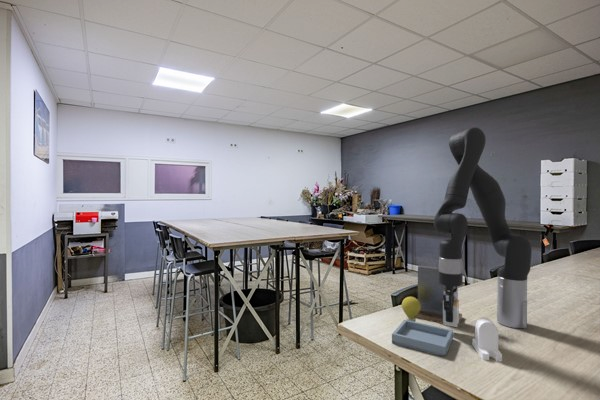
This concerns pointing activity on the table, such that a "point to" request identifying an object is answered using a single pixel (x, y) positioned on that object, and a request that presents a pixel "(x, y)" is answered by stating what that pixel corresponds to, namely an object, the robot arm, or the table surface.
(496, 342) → the cable organizer
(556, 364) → the table surface
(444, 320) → the cartridge
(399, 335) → the tray
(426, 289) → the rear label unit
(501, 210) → the robot arm
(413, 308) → the light bulb
